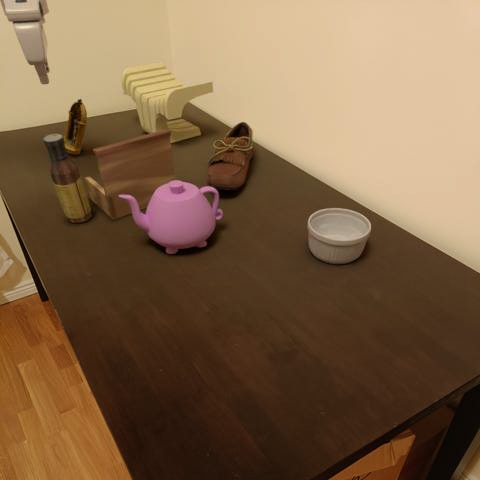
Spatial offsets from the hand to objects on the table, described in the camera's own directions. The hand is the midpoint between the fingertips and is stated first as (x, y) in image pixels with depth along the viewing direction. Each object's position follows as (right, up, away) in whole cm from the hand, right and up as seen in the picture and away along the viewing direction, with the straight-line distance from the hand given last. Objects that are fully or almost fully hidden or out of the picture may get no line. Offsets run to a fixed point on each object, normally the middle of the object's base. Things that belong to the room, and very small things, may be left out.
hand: (45, 77), depth 99 cm
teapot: (+31, -38, 0) cm, 49 cm away
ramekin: (+66, -41, -4) cm, 77 cm away
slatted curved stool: (+21, +7, +46) cm, 51 cm away
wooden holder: (+17, -24, +14) cm, 32 cm away
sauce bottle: (+5, -31, +7) cm, 32 cm away
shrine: (-6, -3, +36) cm, 36 cm away
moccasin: (+43, -15, +23) cm, 51 cm away
